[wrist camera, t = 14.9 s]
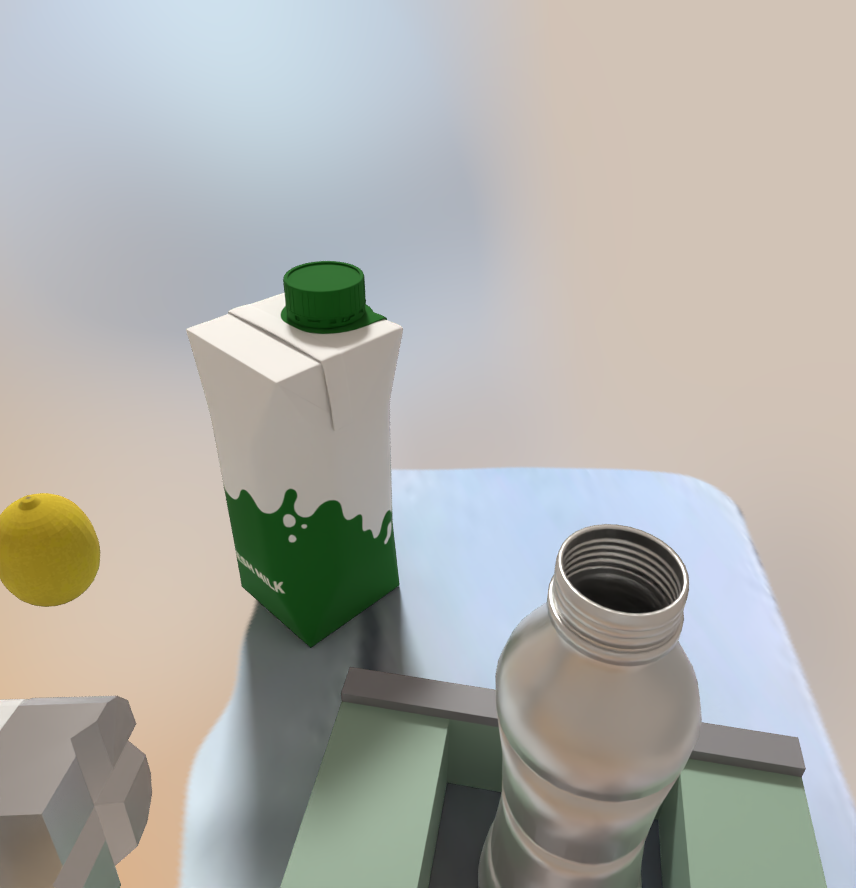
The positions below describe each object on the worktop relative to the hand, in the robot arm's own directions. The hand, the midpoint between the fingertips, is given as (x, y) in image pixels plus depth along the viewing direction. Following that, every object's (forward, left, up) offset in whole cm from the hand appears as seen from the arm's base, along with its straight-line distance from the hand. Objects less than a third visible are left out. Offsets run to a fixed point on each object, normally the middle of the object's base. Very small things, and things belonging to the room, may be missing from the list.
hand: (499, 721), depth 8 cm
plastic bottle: (+3, +11, -28) cm, 30 cm away
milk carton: (-13, +27, -28) cm, 41 cm away
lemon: (-28, +23, -28) cm, 46 cm away
